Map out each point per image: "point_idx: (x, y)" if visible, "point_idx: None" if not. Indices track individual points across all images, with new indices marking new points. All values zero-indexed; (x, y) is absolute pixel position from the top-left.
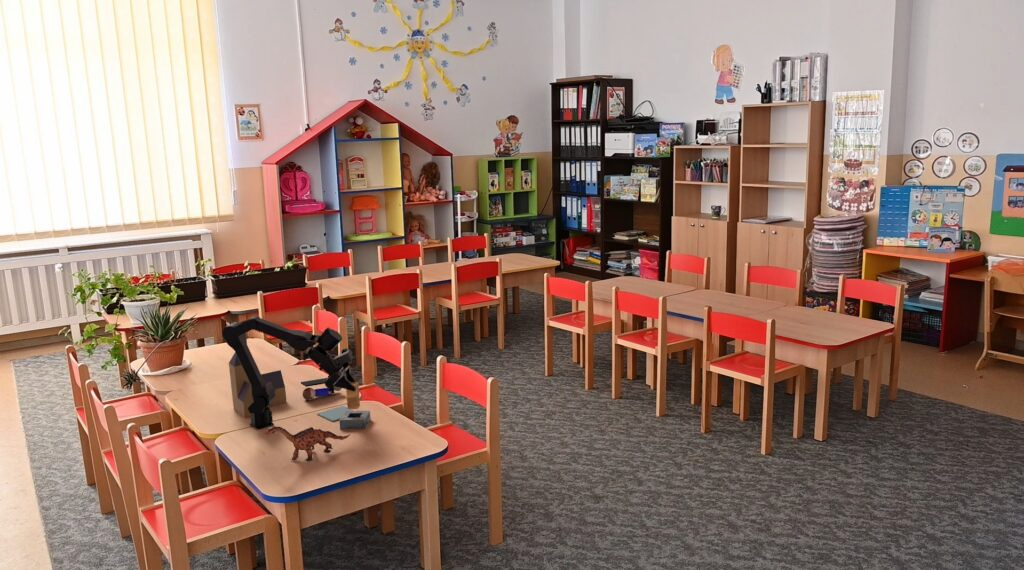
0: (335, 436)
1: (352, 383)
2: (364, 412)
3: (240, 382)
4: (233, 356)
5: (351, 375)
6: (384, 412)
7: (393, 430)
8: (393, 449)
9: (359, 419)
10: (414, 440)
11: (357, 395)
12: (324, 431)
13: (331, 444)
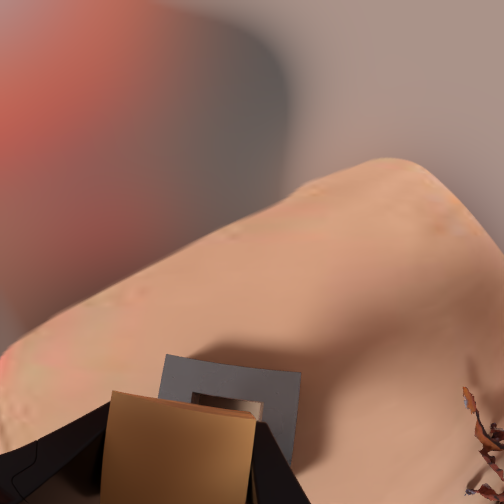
0: (483, 430)
1: (165, 469)
2: (186, 382)
3: None
4: None
5: (20, 469)
6: (109, 305)
7: (315, 261)
8: (449, 252)
9: (292, 398)
10: (389, 202)
11: (221, 410)
12: (497, 466)
13: (496, 428)
